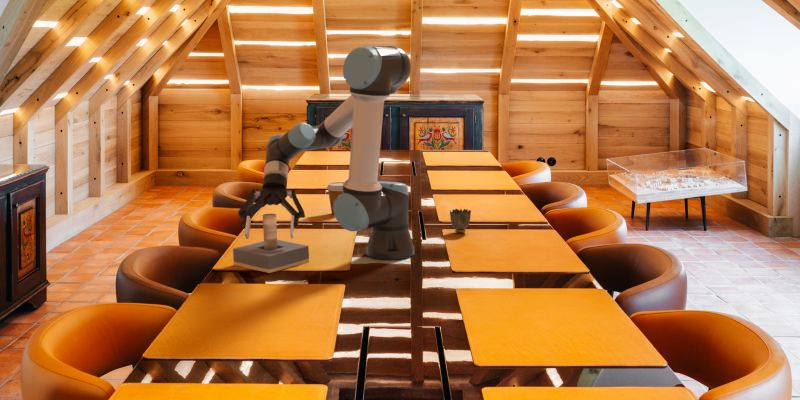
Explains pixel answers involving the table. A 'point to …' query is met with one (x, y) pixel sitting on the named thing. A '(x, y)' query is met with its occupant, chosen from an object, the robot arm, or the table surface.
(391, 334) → the table surface
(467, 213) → the cup
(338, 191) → the disposable coffee cup
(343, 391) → the table surface
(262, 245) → the socket block
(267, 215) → the birch peg
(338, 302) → the table surface
